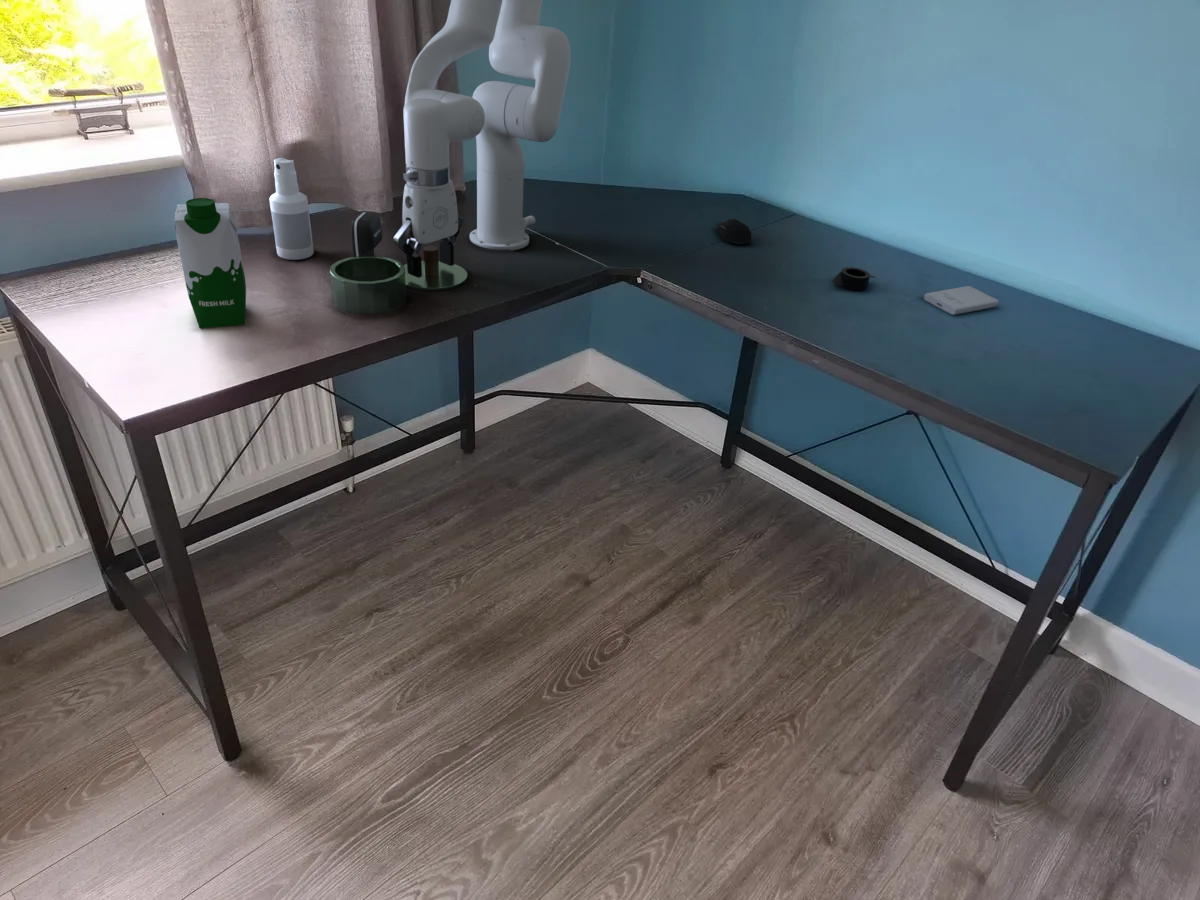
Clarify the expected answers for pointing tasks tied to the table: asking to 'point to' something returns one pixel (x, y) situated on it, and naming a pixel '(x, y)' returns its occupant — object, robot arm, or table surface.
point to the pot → (368, 285)
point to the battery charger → (365, 234)
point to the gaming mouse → (734, 232)
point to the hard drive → (961, 300)
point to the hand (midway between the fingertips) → (431, 269)
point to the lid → (435, 273)
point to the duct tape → (853, 279)
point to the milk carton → (211, 262)
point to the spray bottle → (290, 214)
